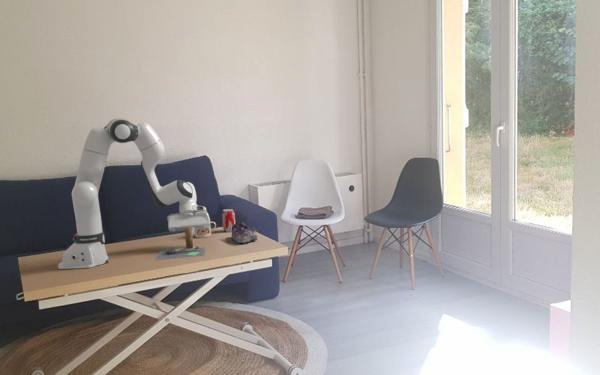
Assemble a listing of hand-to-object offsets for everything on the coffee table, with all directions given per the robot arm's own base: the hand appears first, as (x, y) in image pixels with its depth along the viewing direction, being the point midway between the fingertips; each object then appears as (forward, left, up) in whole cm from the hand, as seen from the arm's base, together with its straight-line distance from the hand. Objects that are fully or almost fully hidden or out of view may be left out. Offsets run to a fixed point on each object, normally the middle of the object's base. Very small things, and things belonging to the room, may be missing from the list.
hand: (190, 236), depth 278 cm
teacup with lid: (+6, +37, -9) cm, 38 cm away
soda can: (+19, +44, -9) cm, 48 cm away
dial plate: (-4, -5, -8) cm, 11 cm away
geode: (+25, +18, -9) cm, 32 cm away
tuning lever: (-4, -3, -6) cm, 8 cm away
